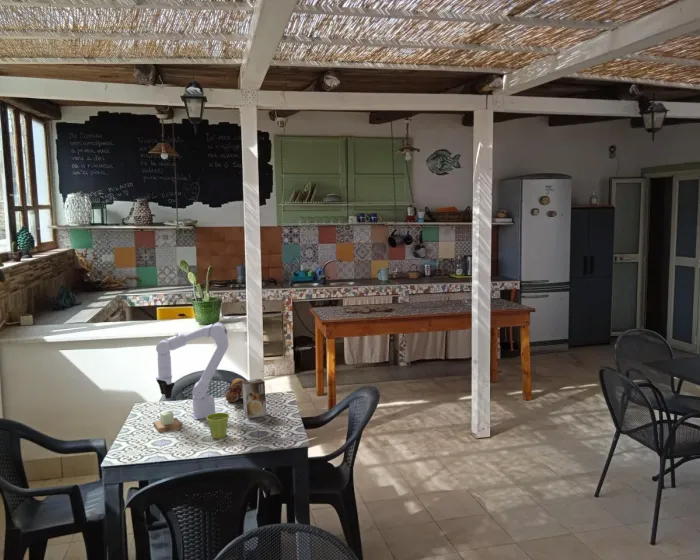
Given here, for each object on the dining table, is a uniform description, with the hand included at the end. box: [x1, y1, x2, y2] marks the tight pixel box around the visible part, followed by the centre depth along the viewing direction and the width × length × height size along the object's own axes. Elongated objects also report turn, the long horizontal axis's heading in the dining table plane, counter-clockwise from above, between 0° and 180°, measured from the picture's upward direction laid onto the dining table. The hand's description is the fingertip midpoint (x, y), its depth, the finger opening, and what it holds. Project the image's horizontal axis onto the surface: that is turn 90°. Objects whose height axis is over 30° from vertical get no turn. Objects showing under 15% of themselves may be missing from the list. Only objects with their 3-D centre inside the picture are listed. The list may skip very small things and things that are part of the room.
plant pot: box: [205, 412, 230, 439], centre depth 255 cm, size 9×9×9 cm
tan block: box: [153, 417, 183, 433], centre depth 268 cm, size 10×10×2 cm
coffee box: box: [242, 378, 267, 419], centre depth 281 cm, size 9×6×16 cm
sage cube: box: [159, 410, 175, 425], centre depth 268 cm, size 4×4×4 cm
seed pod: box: [221, 377, 245, 403], centre depth 304 cm, size 13×16×15 cm
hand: (166, 396), depth 279 cm, fingers open, 7 cm apart
